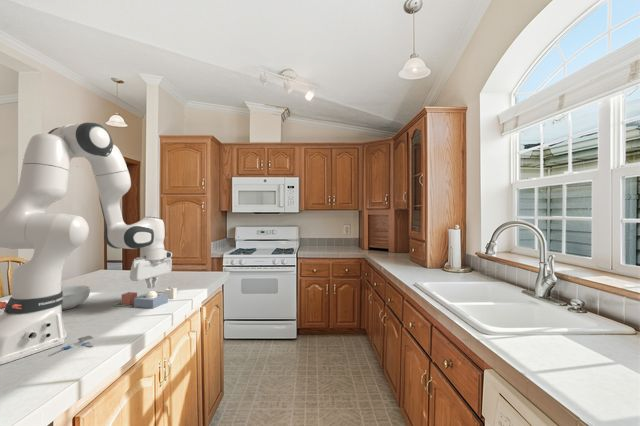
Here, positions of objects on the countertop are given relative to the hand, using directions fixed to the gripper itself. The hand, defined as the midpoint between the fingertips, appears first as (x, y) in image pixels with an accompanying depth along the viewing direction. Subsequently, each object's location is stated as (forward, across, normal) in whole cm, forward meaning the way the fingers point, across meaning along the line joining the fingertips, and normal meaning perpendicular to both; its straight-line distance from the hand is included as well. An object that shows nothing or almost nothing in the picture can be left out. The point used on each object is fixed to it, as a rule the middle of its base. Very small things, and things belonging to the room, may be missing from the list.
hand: (151, 287), depth 130 cm
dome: (+7, +1, 0) cm, 7 cm away
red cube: (+7, -1, +10) cm, 12 cm away
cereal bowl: (+8, -12, +31) cm, 34 cm away
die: (+7, +12, 0) cm, 14 cm away
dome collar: (+7, +1, 0) cm, 7 cm away
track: (+7, +6, +10) cm, 14 cm away
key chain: (+9, -38, -9) cm, 40 cm away
